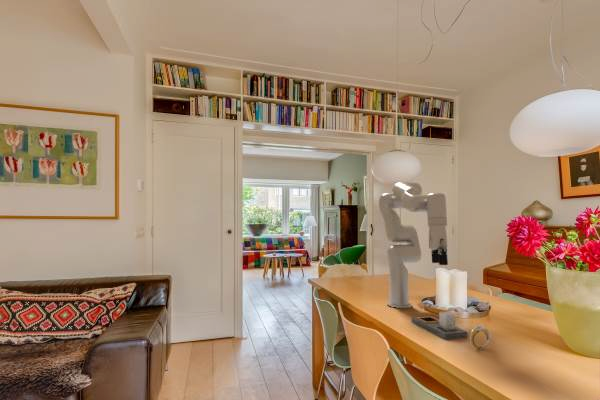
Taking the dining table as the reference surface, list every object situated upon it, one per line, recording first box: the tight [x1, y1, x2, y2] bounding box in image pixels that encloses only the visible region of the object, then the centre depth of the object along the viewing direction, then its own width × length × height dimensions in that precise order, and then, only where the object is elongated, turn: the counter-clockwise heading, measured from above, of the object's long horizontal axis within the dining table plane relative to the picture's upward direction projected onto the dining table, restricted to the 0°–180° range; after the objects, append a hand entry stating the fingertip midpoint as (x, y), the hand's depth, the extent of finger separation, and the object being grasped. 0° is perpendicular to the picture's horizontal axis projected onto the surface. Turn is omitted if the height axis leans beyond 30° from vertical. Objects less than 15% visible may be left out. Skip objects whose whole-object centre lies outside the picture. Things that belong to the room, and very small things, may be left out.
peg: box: [438, 311, 456, 332], centre depth 132 cm, size 4×4×8 cm
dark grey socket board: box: [411, 315, 468, 341], centre depth 137 cm, size 22×10×2 cm, turn 14°
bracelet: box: [469, 324, 491, 350], centre depth 117 cm, size 7×3×8 cm, turn 94°
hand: (439, 263), depth 139 cm, fingers open, 9 cm apart
